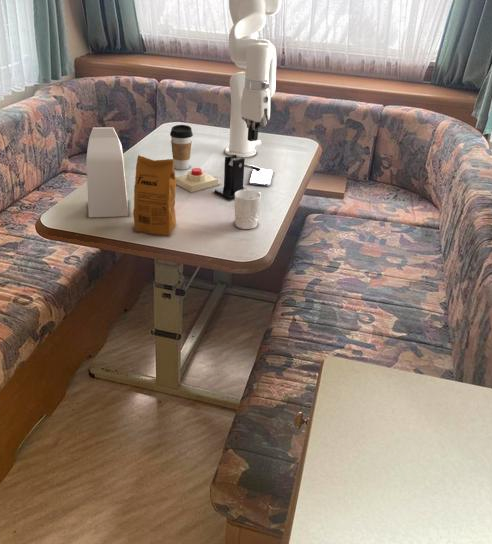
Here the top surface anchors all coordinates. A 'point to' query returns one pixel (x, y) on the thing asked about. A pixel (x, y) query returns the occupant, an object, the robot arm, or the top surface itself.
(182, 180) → the control box
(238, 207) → the white cup
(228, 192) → the switch bracket
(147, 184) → the coffee package
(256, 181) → the mobile phone
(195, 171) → the button
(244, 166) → the switch lever
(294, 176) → the top surface
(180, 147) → the coffee cup
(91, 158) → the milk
